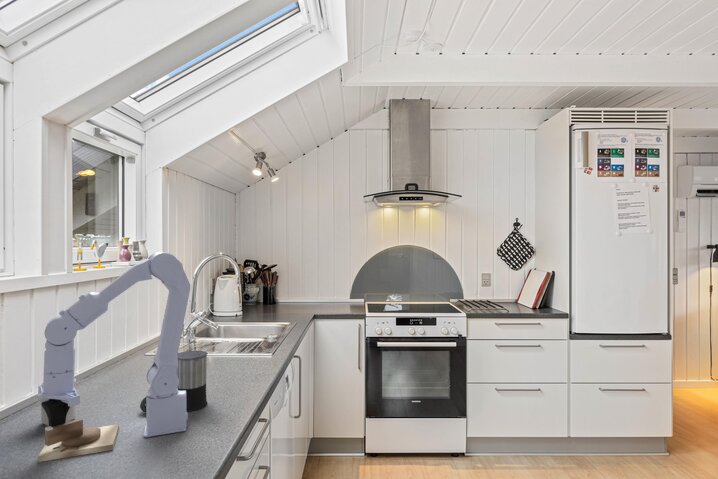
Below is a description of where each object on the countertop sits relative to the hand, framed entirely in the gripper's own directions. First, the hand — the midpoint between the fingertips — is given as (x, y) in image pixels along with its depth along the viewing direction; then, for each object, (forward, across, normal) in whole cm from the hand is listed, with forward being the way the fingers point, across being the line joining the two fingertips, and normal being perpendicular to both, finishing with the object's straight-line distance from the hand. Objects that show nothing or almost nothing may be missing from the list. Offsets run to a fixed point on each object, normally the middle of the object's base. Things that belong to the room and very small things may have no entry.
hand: (57, 431), depth 97 cm
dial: (+3, +1, +3) cm, 4 cm away
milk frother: (+4, 0, +30) cm, 30 cm away
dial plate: (+4, +1, +5) cm, 7 cm away
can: (+5, -18, +8) cm, 20 cm away
